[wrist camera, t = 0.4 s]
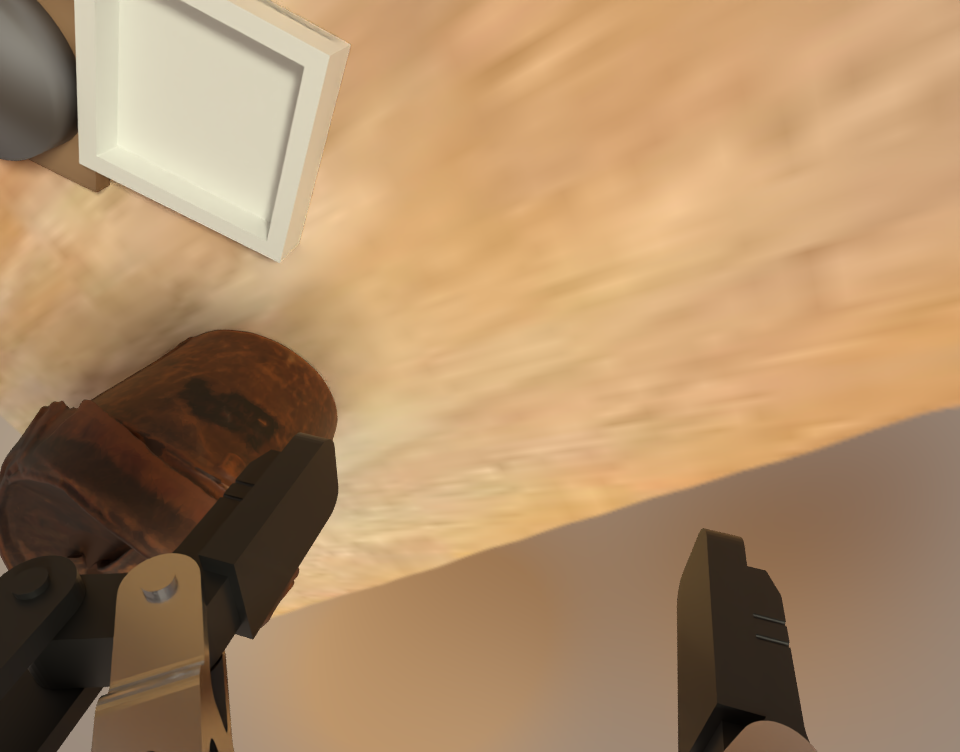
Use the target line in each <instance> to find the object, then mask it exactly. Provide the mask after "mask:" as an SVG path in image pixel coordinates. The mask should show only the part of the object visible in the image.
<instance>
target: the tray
mask: <svg viewBox="0 0 960 752" xmlns="http://www.w3.org/2000/svg"><path fill="white" fill-rule="evenodd" d="M74 11H75V43H76V75H77V107H78V138H79V163H80V164H82V165H84V166H86V167H88V168H90V169H92V170H94V171H96V172H98V173H100V174H102V175H104V176H106V177H108V178H110V179H112V180H114V181H116V182H118V183H120V184H122V185H124V186H126V187H128V188H130V189H132V190H134V191H136V192H138V193H140V194H142V195H144V196H146V197H148V198H150V199H152V200H154V201H156V202H158V203H160V204H162V205H164V206H166V207H168V208H170V209H172V210H174V211H176V212H178V213H180V214H182V215H184V216H186V217H188V218H190V219H192V220H194V221H196V222H198V223H200V224H202V225H204V226H206V227H208V228H210V229H212V230H214V231H216V232H218V233H220V234H222V235H224V236H226V237H228V238H230V239H232V240H234V241H236V242H238V243H240V244H242V245H244V246H246V247H248V248H250V249H252V250H254V251H256V252H258V253H260V254H262V255H264V256H266V257H268V258H270V259H272V260H274V261H276V262H278V263H281V262H282V261H283V260H284V259H285V258H286V257H287V256H288V255H289V254H290V252H291V251H292V250H293V249H294V248H295V247H296V246H297V245H298V244H299V242H300V239H301V235H302V231H303V227H304V223H305V219H306V216H307V212H308V208H309V204H310V200H311V196H312V192H313V189H314V185H315V181H316V177H317V173H318V169H319V166H320V162H321V158H322V154H323V150H324V146H325V143H326V139H327V135H328V131H329V127H330V123H331V120H332V116H333V112H334V108H335V104H336V100H337V97H338V93H339V89H340V85H341V81H342V77H343V73H344V70H345V66H346V62H347V58H348V54H349V50H350V47H351V44H349V43H347V42H345V41H343V40H342V39H340V38H338V37H336V36H334V35H333V34H331V33H329V32H327V31H325V30H323V29H322V28H320V27H318V26H316V25H314V24H312V23H311V22H309V21H307V20H305V19H303V18H301V17H300V16H298V15H296V14H294V13H292V12H290V11H289V10H287V9H285V8H283V7H281V6H279V5H278V4H276V3H274V2H272V1H270V0H74Z"/></svg>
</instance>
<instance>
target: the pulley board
mask: <svg viewBox="0 0 960 752" xmlns="http://www.w3.org/2000/svg"><path fill="white" fill-rule="evenodd" d="M0 159H3V160H11V161H19V160H26V159H29V160H31V161H33V162H35V163H37V164H39V165H41V166H43V167H45V168H47V169H49V170H51V171H53V172H55V173H57V174H59V175H62V176H64V177H66V178H68V179H70V180H72V181H74V182H76V183H78V184H80V185H82V186H84V187H86V188H88V189H90V190H92V191H94V192H98V191H100V190H102V189H103V188H105V187H107V186H109V185H110V178H108V177H106V176H104V175H102V174H100V173H98V172H96V171H94V170H92V169H90V168H88V167H86V166H84V165H82V164H80V163H79V138H78V107H77V75H76V43H75V11H74V0H0Z"/></svg>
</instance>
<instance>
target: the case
mask: <svg viewBox="0 0 960 752" xmlns="http://www.w3.org/2000/svg"><path fill="white" fill-rule="evenodd" d="M336 426H337V410H336V405H335V402H334V399H333V397H332V394H331V392H330V390H329V388H328V387H327V385H326V383H325V382H324V380H323V379H322V377H321V376H320V375H319V374H318V372H317V371H316V370H314V369H313V368H312V367H311V366H310V365H309V364H308V363H307V362H306V361H305V360H304V359H302V358H301V357H300V356H298V355H297V354H296V353H294V352H293V351H291V350H290V349H288V348H286V347H284V346H283V345H281V344H279V343H277V342H275V341H273V340H270V339H268V338H265V337H262V336H259V335H256V334H253V333H248V332H241V331H233V330H217V331H211V332H207V333H204V334H202V335H199V336H197V337H190V338H188V339H187V340H185V341H184V342H182V343H181V344H180V345H178V346H177V347H176V348H175V349H173V350H172V351H170V352H169V353H167V354H166V355H164V356H163V357H161V358H160V359H158V360H157V361H155V362H153V363H152V364H150V365H149V366H147V367H145V368H144V369H142V370H140V371H138V372H137V373H135V374H133V375H132V376H130V377H128V378H127V379H125V380H124V381H122V382H120V383H118V384H117V385H115V386H113V387H112V388H110V389H108V390H107V391H105V392H103V393H102V394H100V395H98V396H97V397H95V398H94V399H92V400H83V401H82V403H81V404H80V406H79V408H74V407H73V408H71V409H70V408H69V407H68V406H67V405H66V404H65V403H64V402H63V401H61V402H52V403H51V404H50V406H44V407H42V408H41V409H40V410H39V412H38V413H37V415H36V416H35V418H34V419H33V420H32V422H31V424H30V425H29V427H28V428H27V429H26V431H25V433H24V434H23V435H22V437H21V438H20V440H19V441H18V442H17V443H16V445H15V446H14V447H13V448H12V450H11V451H10V452H9V454H8V455H7V457H6V458H5V460H4V462H3V464H2V467H1V472H0V556H1V558H2V560H3V562H4V563H5V565H6V567H7V569H8V571H9V570H10V569H11V568H13V567H15V566H17V565H18V564H20V563H23V562H25V561H27V560H30V559H33V558H37V557H41V556H48V555H57V556H63V557H66V558H68V559H69V560H71V561H72V562H73V563H74V564H75V566H76V568H77V570H78V572H79V575H82V574H113V573H129V572H130V571H131V570H132V569H133V568H134V567H136V566H137V565H139V564H140V563H142V562H144V561H145V560H147V559H150V558H152V557H155V556H158V555H162V554H169V553H172V552H173V551H174V550H175V549H176V548H177V547H178V546H179V545H180V544H181V543H182V542H183V540H184V539H185V538H186V537H187V536H188V535H189V533H190V532H191V531H192V530H193V529H194V528H195V526H196V525H197V524H198V523H199V522H200V520H201V519H202V518H203V517H204V516H205V515H206V513H207V512H208V511H209V510H210V509H211V508H212V506H213V505H214V504H215V503H216V502H217V501H218V499H219V498H220V497H223V495H224V492H225V491H226V490H227V489H228V488H229V487H230V485H231V484H232V483H235V480H236V478H237V477H238V476H239V475H240V474H241V473H242V471H243V470H244V469H245V468H246V467H247V466H248V464H249V463H250V462H252V461H253V460H255V459H257V458H258V457H260V456H262V455H263V454H265V453H266V452H268V451H270V450H271V449H272V450H276V451H280V452H281V451H282V450H283V449H284V448H285V447H286V445H287V444H288V443H289V442H290V440H291V439H292V438H293V437H294V436H295V435H296V434H297V433H300V432H301V433H305V434H310V435H314V436H318V437H323V438H327V439H331V440H332V441H333V437H334V433H335V430H336ZM298 573H299V568H297V570H296V572H295V573H294V575H293V576H292V578H291V580H290V581H289V583H288V584H287V586H286V588H285V589H284V591H283V592H282V594H281V596H280V597H279V599H278V600H277V602H276V604H275V605H274V607H273V608H272V610H271V612H270V613H269V615H268V616H267V618H266V620H265V621H264V623H263V624H262V626H261V627H263V626H264V625H265V624H266V623H267V622H268V621H269V620H270V618H271V616H272V614H273V612H274V611H275V609H276V607H277V606H278V604H279V603H280V601H281V600H282V599H283V598H284V596H285V595H286V594H287V593H288V591H289V590H290V589H291V588H292V586H293V585H294V579H295V578H296V577H297V576H298Z"/></svg>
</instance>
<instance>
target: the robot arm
mask: <svg viewBox="0 0 960 752" xmlns="http://www.w3.org/2000/svg"><path fill="white" fill-rule="evenodd" d="M337 496H338V479H337V468H336V457H335V447H334V442H333V441H332V440H331V439H327V438H323V437H318V436H314V435H310V434H305V433H301V432H300V433H297V434H296V435H295V436H294V437H293V438H292V439H291V440H290V442H289V443H288V444H287V445H286V447H285V448H284V449H283V450H282V451H281V452H280V451H276V450H272V449H271V450H270V451H268V452H266V453H265V454H263V455H262V456H260V457H258V458H257V459H255V460H253V461H252V462H250V463H249V464H248V466H247V467H246V468H245V469H244V470H243V471H242V473H241V474H240V475H239V476H238V477H237V478H236V480H235V483H232V484H231V485H230V487H229V488H228V489H227V490H226V491H225V492H224V495H223V497H220V498H219V499H218V501H217V502H216V503H215V504H214V505H213V506H212V508H211V509H210V510H209V511H208V512H207V513H206V515H205V516H204V517H203V518H202V519H201V520H200V522H199V523H198V524H197V525H196V526H195V528H194V529H193V530H192V531H191V532H190V533H189V535H188V536H187V537H186V538H185V539H184V540H183V542H182V543H181V544H180V545H179V546H178V547H177V548H176V549H175V550H174V551H173V552H172V553H169V554H162V555H158V556H155V557H152V558H150V559H147V560H145V561H144V562H142V563H140V564H139V565H137V566H136V567H134V568H133V569H132V570H131V571H130V572H129V573H113V574H82V575H79V572H78V570H77V568H76V566H75V564H74V563H73V562H72V561H71V560H69V559H68V558H66V557H63V556H57V555H48V556H41V557H37V558H33V559H30V560H27V561H25V562H23V563H20V564H18V565H17V566H15V567H13V568H11V569H10V570H9V571H7V572H6V573H4V574H3V575H2V576H1V577H0V752H57V750H58V749H59V748H60V746H61V745H62V743H63V742H64V741H65V739H66V738H67V737H68V735H69V734H70V732H71V731H72V730H73V728H74V727H75V726H76V724H77V723H78V721H79V720H80V718H81V717H82V716H83V714H84V713H85V712H86V710H87V709H88V707H89V706H90V705H91V703H92V702H93V700H94V699H95V698H96V697H97V695H98V694H99V692H100V691H101V690H102V688H103V687H108V686H109V687H110V688H109V692H108V694H106V695H103V696H101V697H100V698H99V700H98V702H97V705H96V710H95V717H94V728H93V738H92V748H91V752H234V748H233V740H232V729H231V716H230V704H229V690H228V677H227V665H226V654H225V648H226V647H227V645H228V644H229V642H230V640H231V639H232V638H233V636H234V635H235V634H237V635H240V636H244V637H247V638H250V639H254V637H255V636H256V634H257V632H258V631H259V629H260V628H261V626H262V624H263V623H264V621H265V620H266V618H267V616H268V615H269V613H270V612H271V610H272V608H273V607H274V605H275V604H276V602H277V600H278V599H279V597H280V596H281V594H282V592H283V591H284V589H285V588H286V586H287V584H288V583H289V581H290V580H291V578H292V576H293V575H294V573H295V572H296V570H297V568H298V567H299V565H300V564H301V562H302V560H303V559H304V557H305V556H306V554H307V552H308V551H309V549H310V548H311V546H312V544H313V543H314V541H315V540H316V538H317V536H318V535H319V533H320V532H321V530H322V528H323V527H324V525H325V524H326V522H327V520H328V519H329V517H330V516H331V514H332V512H333V510H334V507H335V504H336V501H337ZM785 622H786V621H785V615H784V609H783V603H782V598H781V595H780V593H779V591H778V590H777V588H776V586H775V585H774V583H773V581H772V580H771V578H770V576H769V575H768V573H767V572H766V571H765V570H761V569H757V568H753V567H748V566H747V562H746V554H745V547H744V542H743V539H742V538H741V537H738V536H734V535H730V534H726V533H721V532H717V531H713V530H708V529H704V528H703V529H701V531H700V533H699V535H698V537H697V540H696V542H695V544H694V547H693V549H692V552H691V555H690V557H689V559H688V562H687V564H686V566H685V569H684V572H683V574H682V577H681V580H680V585H679V590H678V598H677V647H678V648H677V650H678V651H677V653H678V654H677V656H678V752H817V751H816V749H815V748H814V747H813V746H812V745H811V744H810V742H809V740H808V737H807V735H806V731H805V728H804V722H803V716H802V711H801V705H800V700H799V694H798V688H797V682H796V677H795V671H794V665H793V660H792V654H791V649H790V648H789V637H788V632H787V627H786V626H785Z"/></svg>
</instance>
